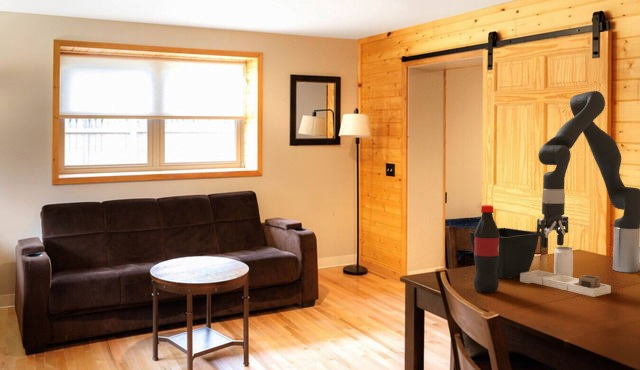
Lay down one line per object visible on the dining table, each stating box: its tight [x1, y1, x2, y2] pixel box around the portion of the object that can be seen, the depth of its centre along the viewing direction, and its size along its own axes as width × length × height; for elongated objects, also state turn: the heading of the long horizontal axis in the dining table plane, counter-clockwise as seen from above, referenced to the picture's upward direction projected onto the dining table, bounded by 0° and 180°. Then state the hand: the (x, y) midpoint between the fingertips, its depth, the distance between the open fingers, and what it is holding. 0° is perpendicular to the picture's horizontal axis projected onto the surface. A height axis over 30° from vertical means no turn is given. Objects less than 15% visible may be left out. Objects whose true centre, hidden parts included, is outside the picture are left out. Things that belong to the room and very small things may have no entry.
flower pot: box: [469, 227, 540, 280], centre depth 238 cm, size 19×19×17 cm
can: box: [553, 246, 574, 278], centre depth 229 cm, size 6×6×12 cm
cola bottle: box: [473, 204, 500, 294], centre depth 212 cm, size 8×8×30 cm
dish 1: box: [519, 269, 559, 286], centre depth 225 cm, size 10×10×3 cm
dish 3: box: [567, 282, 612, 297], centre depth 208 cm, size 10×10×3 cm
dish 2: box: [542, 275, 579, 291], centre depth 217 cm, size 10×10×3 cm
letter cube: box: [578, 274, 601, 289], centre depth 208 cm, size 5×5×5 cm
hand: (552, 246), depth 220 cm, fingers open, 8 cm apart
